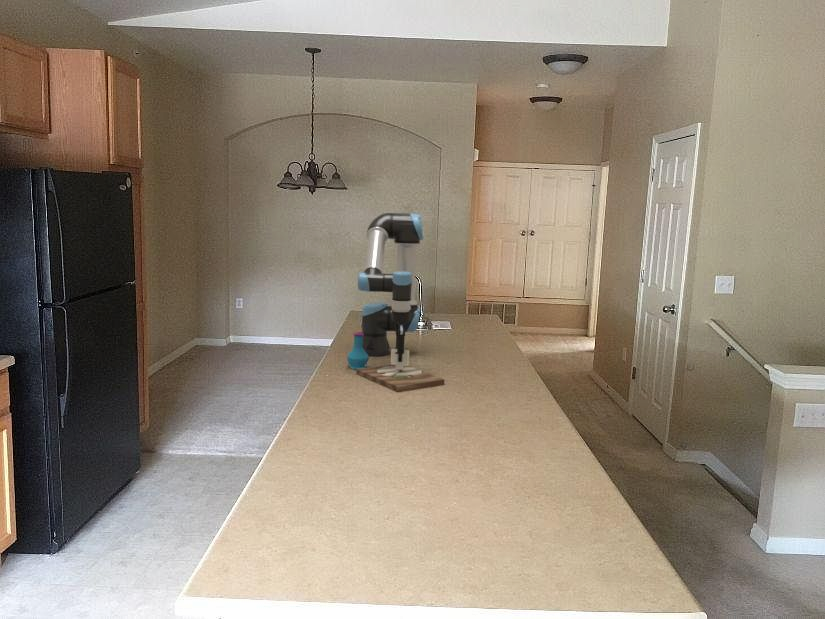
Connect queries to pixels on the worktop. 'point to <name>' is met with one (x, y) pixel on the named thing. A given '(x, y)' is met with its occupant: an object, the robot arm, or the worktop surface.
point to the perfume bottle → (358, 353)
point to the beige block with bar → (405, 359)
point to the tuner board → (400, 377)
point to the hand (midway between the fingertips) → (399, 368)
